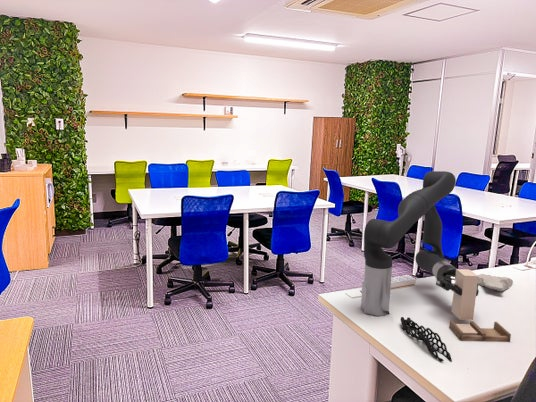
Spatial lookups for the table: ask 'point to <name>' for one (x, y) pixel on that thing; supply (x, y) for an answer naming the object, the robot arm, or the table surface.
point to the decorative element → (426, 340)
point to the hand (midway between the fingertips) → (468, 293)
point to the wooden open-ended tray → (482, 333)
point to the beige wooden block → (465, 294)
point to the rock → (494, 282)
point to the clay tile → (466, 329)
